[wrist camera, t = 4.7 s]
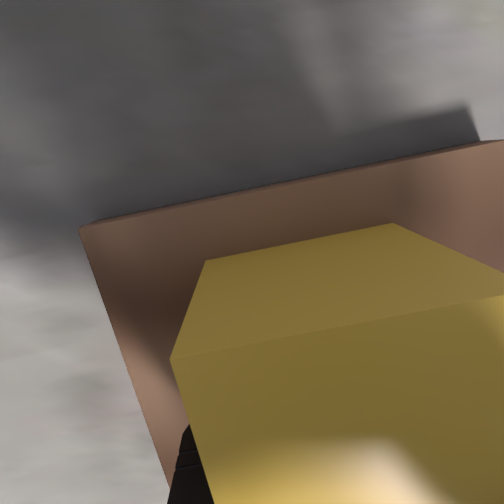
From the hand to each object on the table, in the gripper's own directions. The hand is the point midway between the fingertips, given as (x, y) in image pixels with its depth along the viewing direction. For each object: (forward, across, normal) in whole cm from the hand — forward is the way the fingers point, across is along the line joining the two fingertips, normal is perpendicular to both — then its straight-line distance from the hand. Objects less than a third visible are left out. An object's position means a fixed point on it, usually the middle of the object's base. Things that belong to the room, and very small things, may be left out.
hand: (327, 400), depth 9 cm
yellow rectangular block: (+1, 0, 0) cm, 1 cm away
